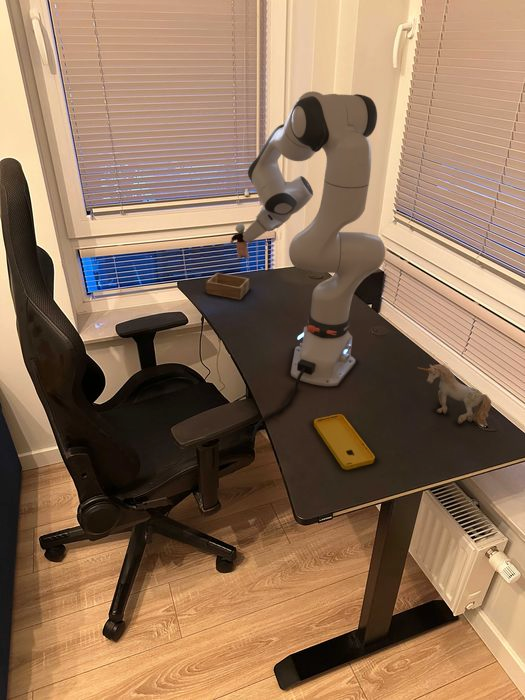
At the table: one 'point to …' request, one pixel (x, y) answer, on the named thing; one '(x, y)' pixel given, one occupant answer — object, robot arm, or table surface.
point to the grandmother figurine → (241, 242)
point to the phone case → (343, 441)
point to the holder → (227, 286)
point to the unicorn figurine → (459, 395)
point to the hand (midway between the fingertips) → (246, 238)
